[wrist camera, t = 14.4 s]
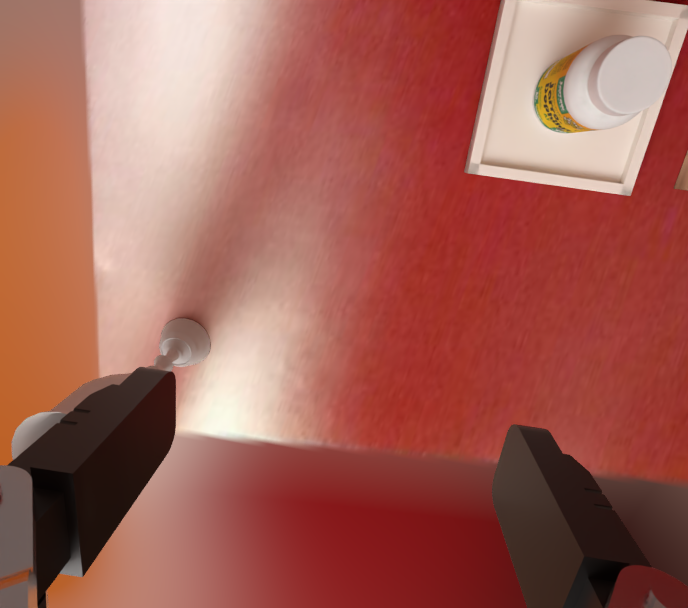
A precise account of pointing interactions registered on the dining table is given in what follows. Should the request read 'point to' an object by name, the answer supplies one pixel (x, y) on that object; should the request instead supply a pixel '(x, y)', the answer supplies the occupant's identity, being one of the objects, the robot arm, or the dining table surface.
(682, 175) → the oak holder
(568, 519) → the robot arm
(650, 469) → the dining table surface
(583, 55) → the supplement bottle
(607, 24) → the ceramic tray
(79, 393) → the chalice
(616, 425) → the dining table surface
